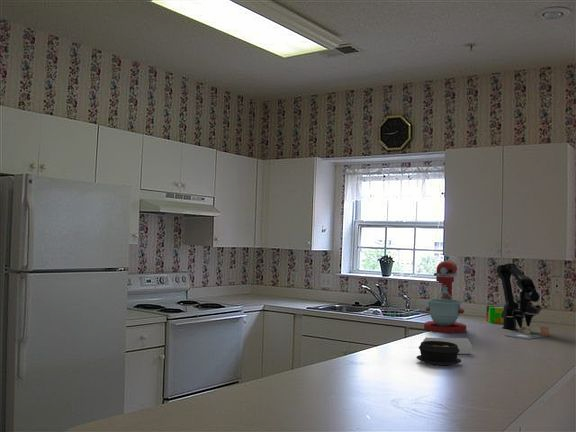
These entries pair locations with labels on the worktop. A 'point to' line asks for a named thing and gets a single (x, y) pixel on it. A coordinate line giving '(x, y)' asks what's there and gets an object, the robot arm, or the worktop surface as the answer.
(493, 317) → the puzzle toy
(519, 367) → the worktop surface
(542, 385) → the worktop surface
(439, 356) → the casserole
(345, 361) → the worktop surface
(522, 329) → the oak block
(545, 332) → the brown rounded lump
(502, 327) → the robot arm
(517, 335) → the board
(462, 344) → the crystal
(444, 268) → the stand mixer
